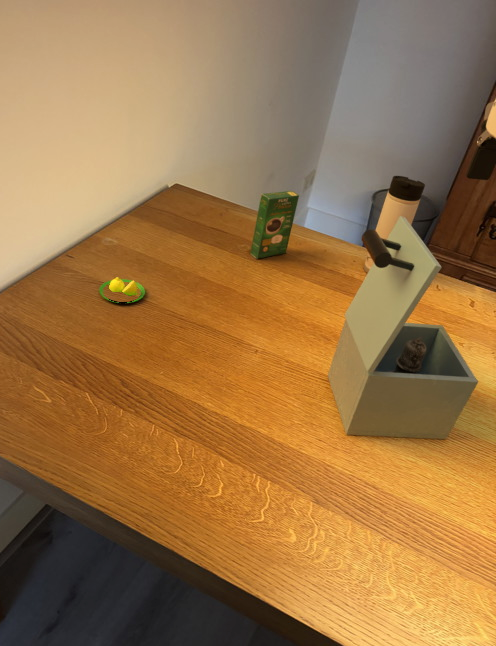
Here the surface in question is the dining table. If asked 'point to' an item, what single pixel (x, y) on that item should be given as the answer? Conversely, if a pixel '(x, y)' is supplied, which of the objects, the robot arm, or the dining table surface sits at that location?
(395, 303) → the lid
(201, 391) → the dining table surface
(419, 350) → the chess piece figurine
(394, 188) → the travel mug
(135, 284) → the plate with lemons
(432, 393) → the grey hinged box
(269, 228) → the coffee box
